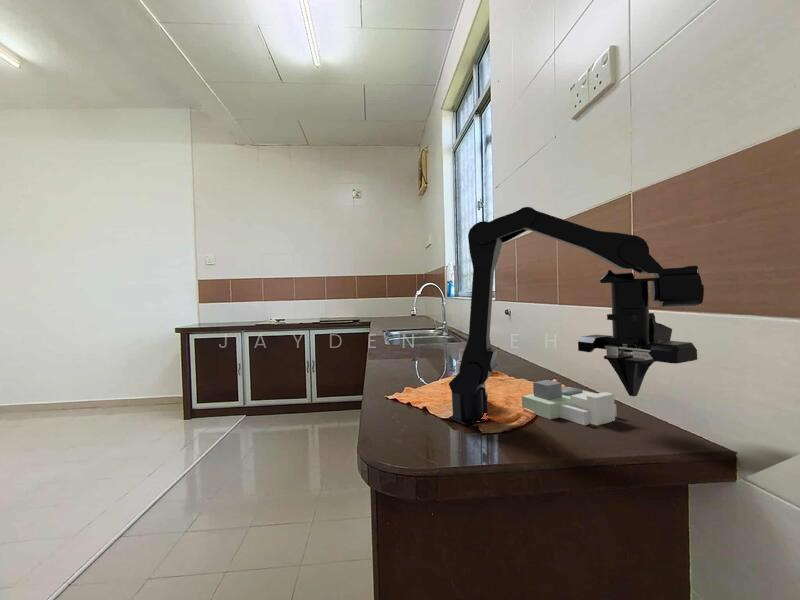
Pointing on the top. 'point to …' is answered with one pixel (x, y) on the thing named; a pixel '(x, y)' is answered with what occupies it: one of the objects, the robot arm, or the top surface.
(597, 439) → the top surface
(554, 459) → the top surface
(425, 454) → the top surface
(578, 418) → the green block with prongs
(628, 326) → the robot arm
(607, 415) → the white lidded box
